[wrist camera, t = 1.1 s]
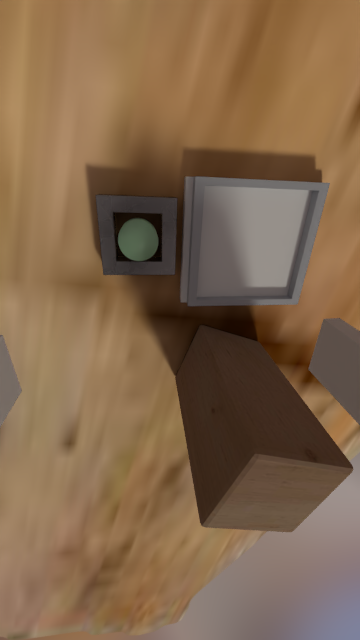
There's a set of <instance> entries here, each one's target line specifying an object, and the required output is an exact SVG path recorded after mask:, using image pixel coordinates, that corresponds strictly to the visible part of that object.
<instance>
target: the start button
mask: <svg viewBox="0 0 360 640" xmlns="http://www.w3.org/2000/svg"><path fill="white" fill-rule="evenodd" d="M118 244H119V247H120V250H121V251H122V253H123V254H124V255H125V256H126V257H128V258H129V259H131V260H134V261H144V260H147V259H149V258H151V257H152V256H153V255H154V254H155V252H156V250H157V248H158V236H157V232H156V230H155V228H154V226H153V225H152V224H151V223H150V222H149V221H148V220H146V219H143V218H132V219H129V220H128V221H126V222H125V223H124V225H123V226H122V228H121V230H120V232H119V235H118Z"/></svg>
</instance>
